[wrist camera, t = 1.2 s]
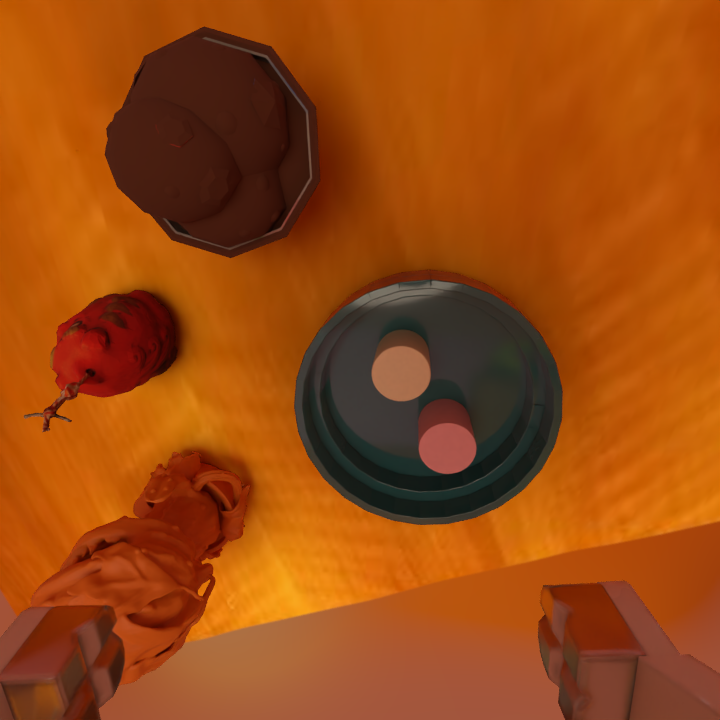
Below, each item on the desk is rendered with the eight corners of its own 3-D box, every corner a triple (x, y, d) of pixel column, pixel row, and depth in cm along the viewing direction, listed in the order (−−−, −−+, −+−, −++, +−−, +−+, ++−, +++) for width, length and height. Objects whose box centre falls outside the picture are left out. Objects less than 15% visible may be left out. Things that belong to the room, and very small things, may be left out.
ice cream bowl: (325, 257, 37) (268, 297, 22) (181, 214, 37) (34, 225, 23) (365, 103, 33) (327, 33, 19) (205, 55, 33) (50, -49, 19)
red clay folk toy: (127, 268, 38) (-41, 310, 24) (204, 320, 39) (84, 391, 25) (88, 344, 41) (-86, 422, 27) (161, 392, 42) (30, 493, 27)
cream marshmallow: (412, 319, 37) (411, 335, 33) (438, 363, 38) (441, 384, 34) (366, 345, 38) (360, 364, 34) (393, 388, 39) (390, 411, 34)
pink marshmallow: (454, 389, 38) (459, 413, 34) (479, 431, 39) (486, 459, 35) (408, 413, 39) (408, 438, 35) (434, 452, 40) (436, 482, 36)
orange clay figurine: (133, 432, 43) (-50, 587, 26) (256, 437, 42) (148, 602, 25) (151, 540, 47) (0, 738, 30) (265, 547, 45) (176, 757, 28)
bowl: (472, 220, 35) (481, 223, 30) (584, 427, 39) (608, 459, 34) (264, 345, 39) (244, 366, 35) (384, 519, 43) (380, 559, 38)
